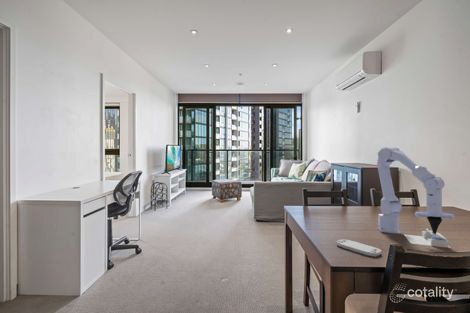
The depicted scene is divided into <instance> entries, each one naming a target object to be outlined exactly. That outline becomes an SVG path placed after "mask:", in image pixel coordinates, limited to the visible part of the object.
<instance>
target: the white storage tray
mask: <svg viewBox="0 0 470 313" xmlns="http://www.w3.org/2000/svg"><path fill="white" fill-rule="evenodd" d="M403 235H404V236H405V238H406V239H407V241H408V242H409V243H410V244H413V245H421V246H428V247H429V246H431V247H439V248H449V249H451V246H449V240H448V239H447V240H445V239H442V238H439V237H438V238H439V239H441V240H433V239H432V236H434V235H432V234H431V233H430V232H428V231H427V230H422V231H421V235H413V234H412V235H411V234H403ZM435 237H437V236H435Z"/></svg>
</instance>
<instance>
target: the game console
mask: <svg viewBox="0 0 470 313" xmlns="http://www.w3.org/2000/svg"><path fill="white" fill-rule="evenodd" d="M336 245H337V246H338V247H340V248H342V249H345V250H348V251H352V252H354V253H357V254H361V255H364V256H368V257H376V258H377V257H379V256H381V254H382V250H381V249H380V248H378V247H375V246H371V245H367V244H365V243H362V242H358V241H354V240H351V239H343V238H342V239H338V240H336Z"/></svg>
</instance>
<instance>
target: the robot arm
mask: <svg viewBox="0 0 470 313" xmlns="http://www.w3.org/2000/svg"><path fill="white" fill-rule="evenodd" d="M377 156H378V158H377V162H376V166H377V171H378V178H379V181H380V186H381V192H382V198H381V199H380V207H379V210H380V211H381V213H378V216H377V217H378V219H377V229H378V230H379V232H380V233H390V234H401V231H400V229H399V225H400V224H399V223H400V213H401V212H402V210H403V206H402V204H401V203H400V199H399V198H398V197H397V196H396V195H395V188H394V184H393V180H392V174H391V169H390V166H391V165H392V164H393V162H395V161H397V162H400V164H403V165H404V166H405V167H406V168H407V169H409V170H410V171H411V174H412V176H414V177H415V179H417V180H418V181H420V182H421V183H422V184H423V188H425V190H426V195H425V196H426V211H415V212H414V216H415V217H417V218H419V217H421V218H426V219H427V221H428V223H429V225H430V228H431V230H432V232H433V233H435V234H436V232H437V231H438V229H439V226H440V224H441V223H443V222H442V221H443V219H451V220H455V214H454V213H448V212H447V213H445V212H443V188H444V187H445V181H444V180H443V178H442V177H440V176H436V174H434V173H432V172H430V171H429V170H428V168H427V167H426V166H422V165H417V164H416V163H415V162H414V161H413V160H412V159H410V157H408V156H407V155H406V154H405V152H404V151H402V150H400V149H399V148H397V147H382V148H381V149H380V150H379V151H378V152H377ZM437 233H438V232H437Z"/></svg>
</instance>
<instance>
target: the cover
mask: <svg viewBox="0 0 470 313" xmlns="http://www.w3.org/2000/svg"><path fill="white" fill-rule="evenodd" d="M425 231H428V232H430V233H431V234H432V235H434V236H437V237H439V238H442V239H445V240H447V241H448V239H447V238H446V237H445V236H444V235H442V234H441V233H440V232H436V234H435V233H433V232H432V229H430V228H425Z"/></svg>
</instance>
